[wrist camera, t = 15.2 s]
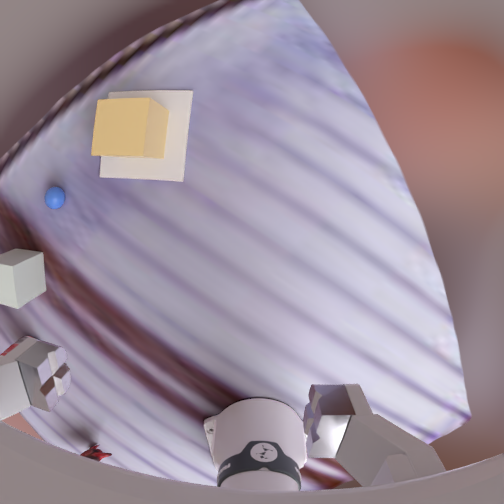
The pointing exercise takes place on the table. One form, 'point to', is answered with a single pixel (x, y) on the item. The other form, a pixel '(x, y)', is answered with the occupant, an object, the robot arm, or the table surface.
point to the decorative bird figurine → (95, 453)
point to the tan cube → (130, 128)
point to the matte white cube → (21, 277)
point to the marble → (54, 197)
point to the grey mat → (174, 146)
